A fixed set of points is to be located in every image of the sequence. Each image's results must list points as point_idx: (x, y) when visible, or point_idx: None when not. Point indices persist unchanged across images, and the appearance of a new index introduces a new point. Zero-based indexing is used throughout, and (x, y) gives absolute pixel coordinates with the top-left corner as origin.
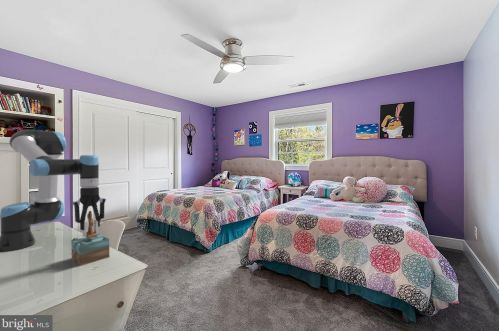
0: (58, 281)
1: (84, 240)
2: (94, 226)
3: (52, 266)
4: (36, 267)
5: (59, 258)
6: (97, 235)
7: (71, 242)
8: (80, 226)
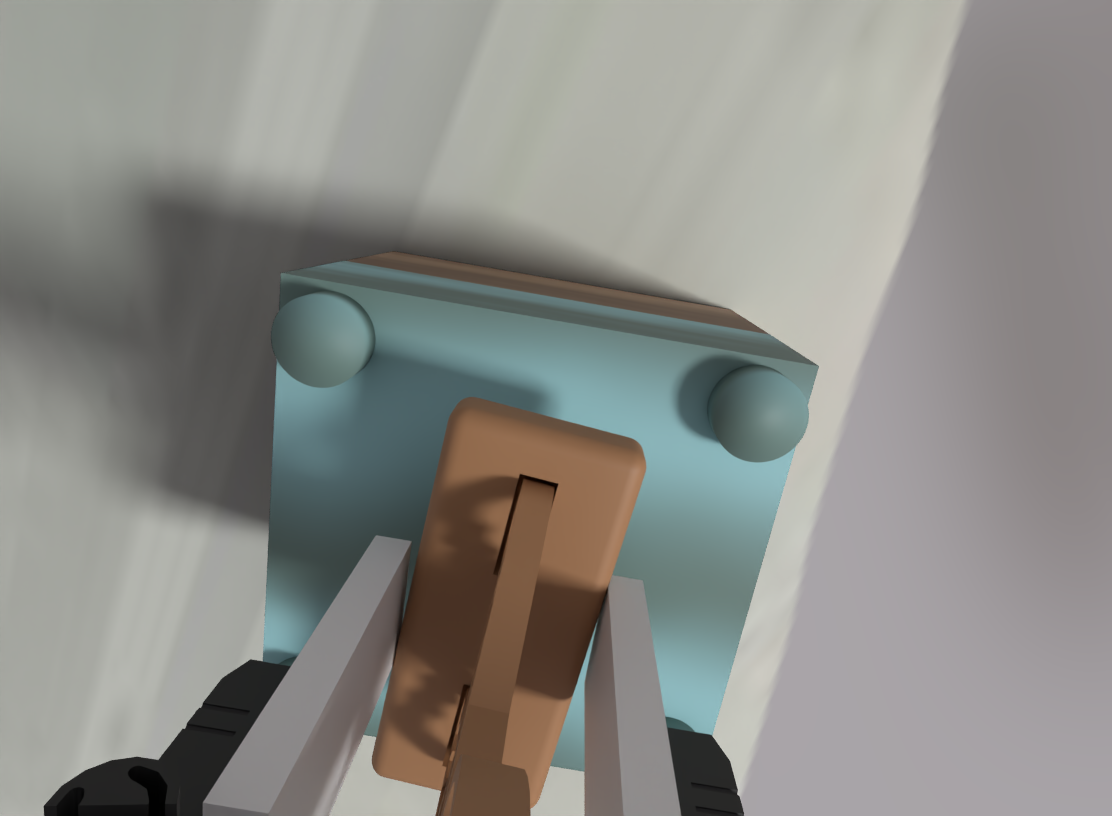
0: (118, 699)
1: (423, 515)
2: (609, 721)
3: (169, 292)
4: (36, 141)
5: (306, 66)
6: (534, 796)
7: (300, 269)
8: (176, 762)
